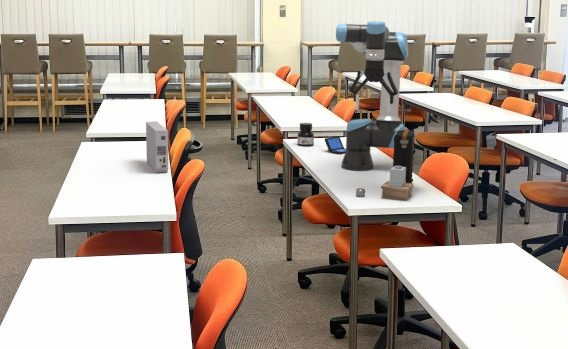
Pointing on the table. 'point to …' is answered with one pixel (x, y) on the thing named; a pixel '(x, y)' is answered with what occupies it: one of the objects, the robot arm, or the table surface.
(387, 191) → the stand
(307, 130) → the ink bottle
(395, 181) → the housing
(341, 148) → the handheld game console
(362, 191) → the dark grey metallic dome
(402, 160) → the black carrying case
